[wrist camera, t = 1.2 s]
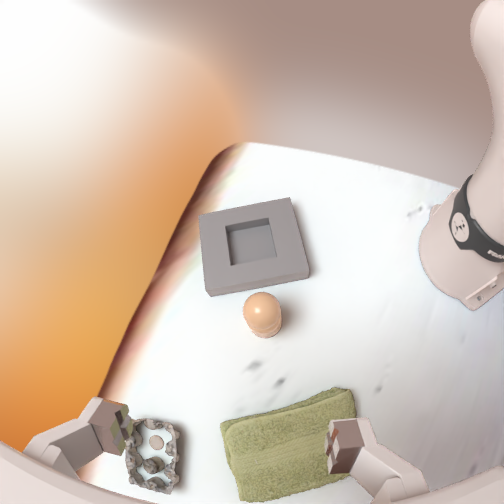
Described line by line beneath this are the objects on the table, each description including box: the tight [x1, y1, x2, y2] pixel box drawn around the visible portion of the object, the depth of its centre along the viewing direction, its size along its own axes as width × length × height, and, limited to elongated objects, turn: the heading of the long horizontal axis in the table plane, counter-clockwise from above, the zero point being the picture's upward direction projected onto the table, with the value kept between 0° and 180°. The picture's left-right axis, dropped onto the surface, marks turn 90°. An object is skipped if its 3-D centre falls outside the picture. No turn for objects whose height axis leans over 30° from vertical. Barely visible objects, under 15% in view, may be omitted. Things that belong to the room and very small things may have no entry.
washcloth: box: [220, 387, 356, 503], centre depth 31 cm, size 13×18×3 cm
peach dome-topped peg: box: [243, 292, 282, 338], centre depth 37 cm, size 4×4×8 cm
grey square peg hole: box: [199, 197, 309, 297], centre depth 44 cm, size 14×12×3 cm
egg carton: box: [125, 419, 180, 495], centre depth 32 cm, size 11×8×4 cm
